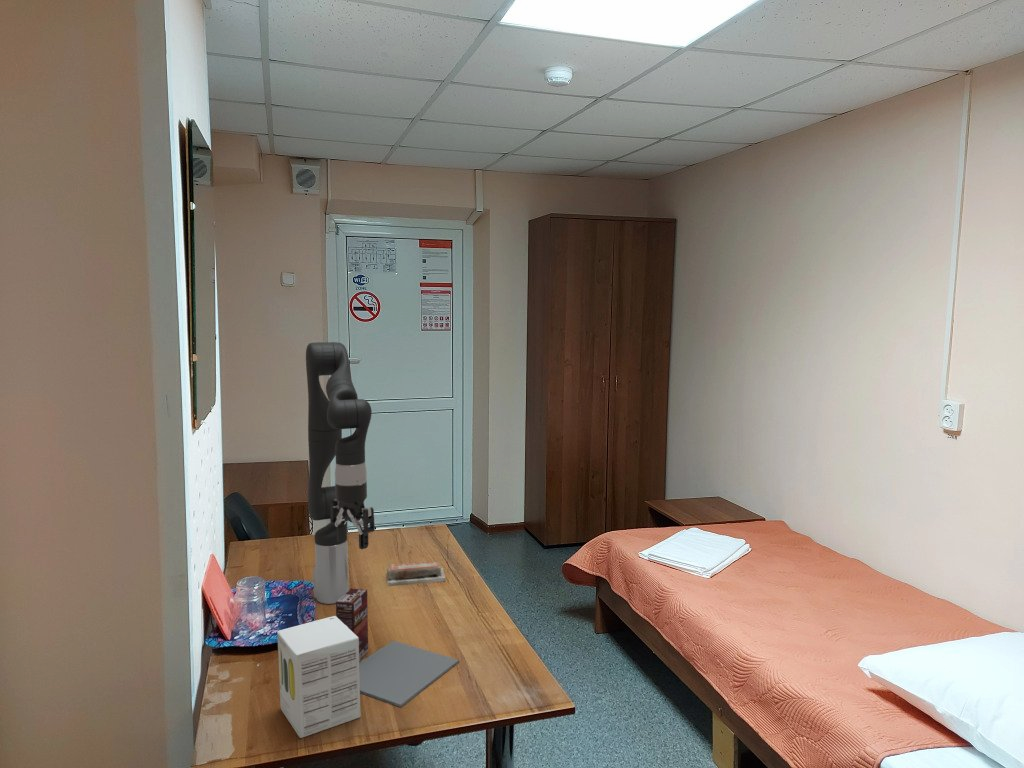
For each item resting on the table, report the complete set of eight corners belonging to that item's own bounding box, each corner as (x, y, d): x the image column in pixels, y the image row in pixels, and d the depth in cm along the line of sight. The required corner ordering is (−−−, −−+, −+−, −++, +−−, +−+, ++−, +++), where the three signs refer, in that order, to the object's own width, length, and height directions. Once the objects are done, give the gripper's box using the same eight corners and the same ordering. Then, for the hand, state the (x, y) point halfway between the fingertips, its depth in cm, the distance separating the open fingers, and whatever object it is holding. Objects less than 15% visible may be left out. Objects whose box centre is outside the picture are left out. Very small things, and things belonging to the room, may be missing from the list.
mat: (331, 682, 159) (331, 680, 159) (393, 642, 178) (393, 640, 178) (400, 707, 149) (400, 704, 149) (459, 662, 168) (459, 659, 168)
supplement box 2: (355, 668, 166) (353, 603, 164) (336, 666, 167) (334, 601, 165) (369, 650, 174) (368, 589, 172) (351, 648, 175) (349, 587, 173)
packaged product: (386, 572, 214) (386, 561, 224) (387, 587, 215) (386, 575, 224) (445, 568, 217) (442, 557, 227) (445, 583, 218) (443, 571, 228)
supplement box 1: (278, 708, 149) (275, 630, 147) (338, 689, 157) (336, 614, 155) (299, 740, 138) (296, 655, 136) (362, 717, 146) (360, 637, 144)
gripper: (320, 478, 173) (322, 542, 175) (357, 488, 164) (358, 555, 166) (345, 473, 179) (346, 534, 181) (382, 482, 170) (383, 546, 172)
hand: (352, 544), depth 173 cm, fingers open, 8 cm apart
